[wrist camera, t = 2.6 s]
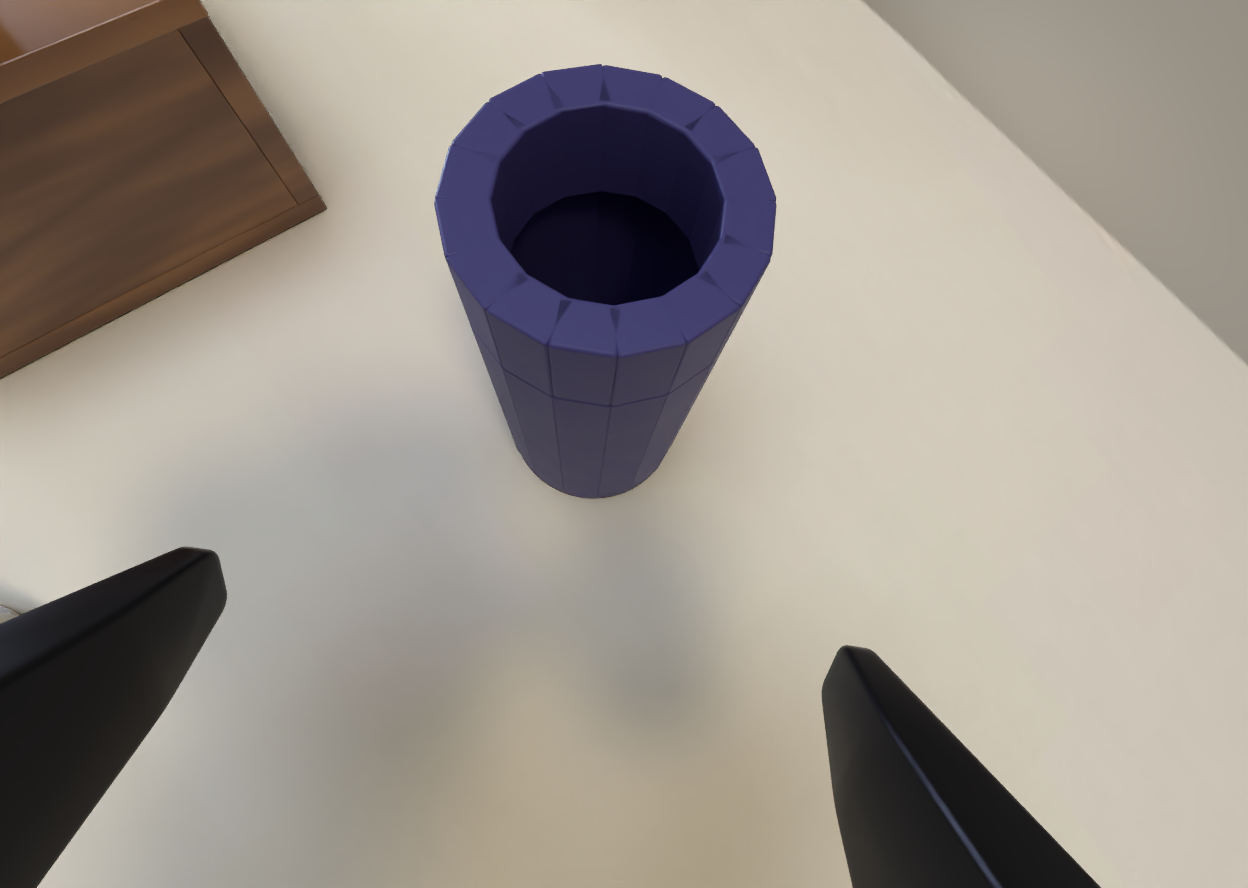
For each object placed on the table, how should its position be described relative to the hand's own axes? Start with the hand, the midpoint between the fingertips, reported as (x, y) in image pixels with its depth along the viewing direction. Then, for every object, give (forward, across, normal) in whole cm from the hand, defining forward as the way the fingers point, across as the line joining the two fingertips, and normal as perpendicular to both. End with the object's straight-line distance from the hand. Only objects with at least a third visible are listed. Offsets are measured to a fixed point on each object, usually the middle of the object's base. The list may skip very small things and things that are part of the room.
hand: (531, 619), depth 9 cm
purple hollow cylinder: (+15, 0, +4) cm, 15 cm away
